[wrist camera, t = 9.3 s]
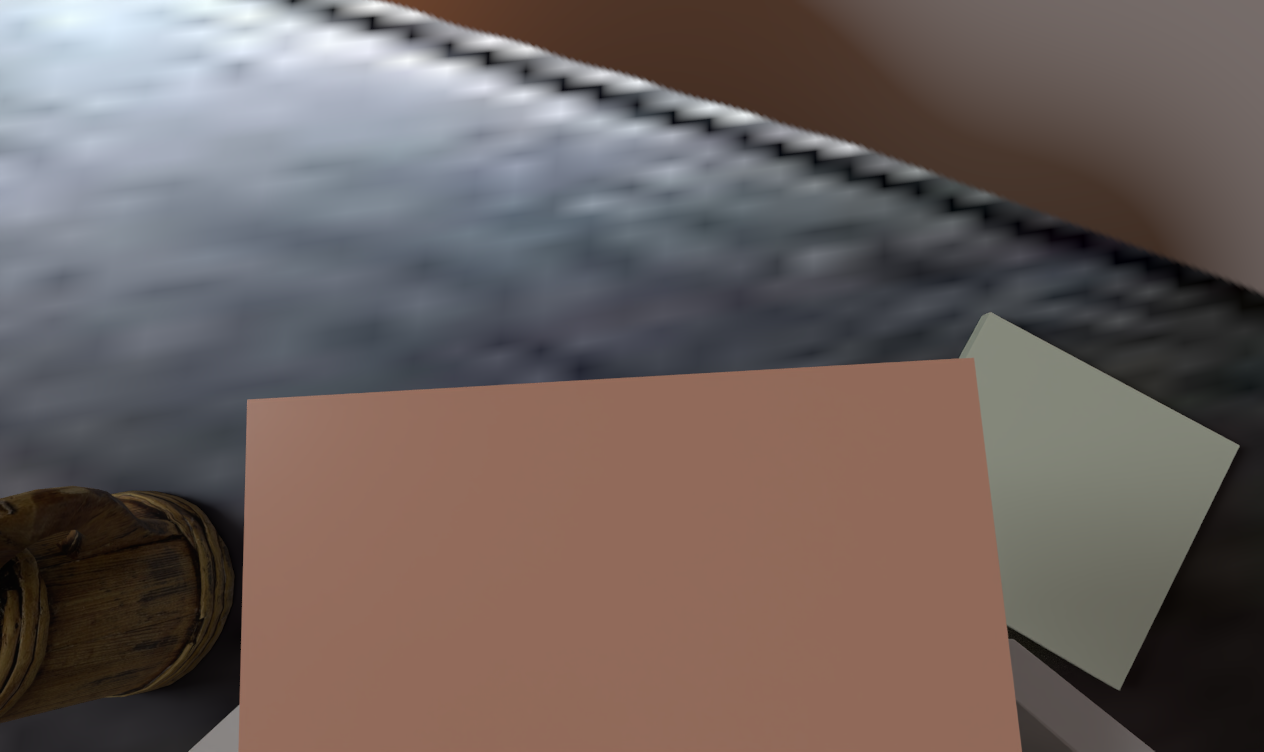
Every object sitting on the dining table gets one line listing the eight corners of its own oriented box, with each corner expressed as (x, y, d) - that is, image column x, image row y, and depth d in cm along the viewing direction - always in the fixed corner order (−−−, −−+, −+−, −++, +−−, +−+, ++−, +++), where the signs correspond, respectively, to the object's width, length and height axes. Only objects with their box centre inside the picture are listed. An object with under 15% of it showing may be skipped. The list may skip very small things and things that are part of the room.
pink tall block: (792, 696, 14) (1080, 1224, 4) (523, 706, 15) (226, 1228, 5) (770, 424, 15) (974, 357, 5) (515, 438, 15) (248, 399, 5)
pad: (1106, 684, 28) (1119, 690, 28) (860, 539, 30) (865, 541, 29) (1224, 446, 29) (1239, 445, 29) (981, 316, 31) (990, 312, 30)
